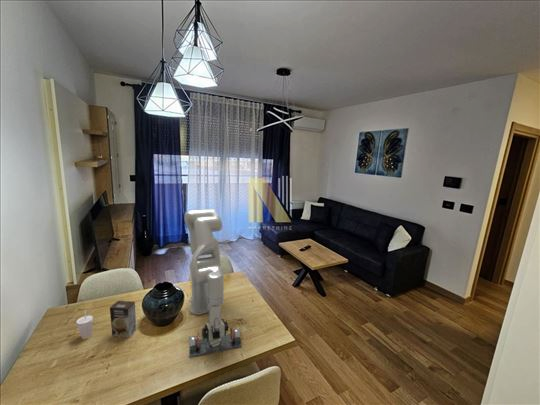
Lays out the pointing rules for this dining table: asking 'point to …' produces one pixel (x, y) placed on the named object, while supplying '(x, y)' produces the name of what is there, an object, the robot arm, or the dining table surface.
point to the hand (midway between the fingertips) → (215, 330)
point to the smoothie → (85, 325)
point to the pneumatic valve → (208, 333)
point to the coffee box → (123, 318)
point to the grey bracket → (203, 347)
